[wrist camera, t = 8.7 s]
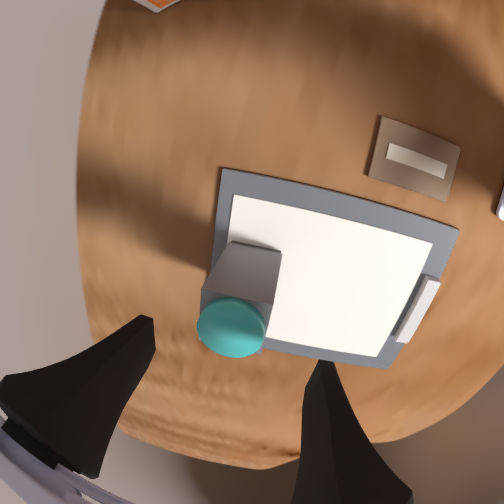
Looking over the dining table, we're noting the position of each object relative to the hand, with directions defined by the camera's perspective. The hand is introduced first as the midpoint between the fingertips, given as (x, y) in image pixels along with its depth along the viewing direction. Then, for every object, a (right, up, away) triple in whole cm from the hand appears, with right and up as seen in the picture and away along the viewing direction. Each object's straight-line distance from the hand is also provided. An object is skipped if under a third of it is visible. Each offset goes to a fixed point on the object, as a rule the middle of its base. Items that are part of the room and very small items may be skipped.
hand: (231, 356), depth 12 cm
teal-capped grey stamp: (+1, +3, +9) cm, 9 cm away
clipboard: (+6, +2, +9) cm, 11 cm away
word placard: (+11, +10, +4) cm, 16 cm away
